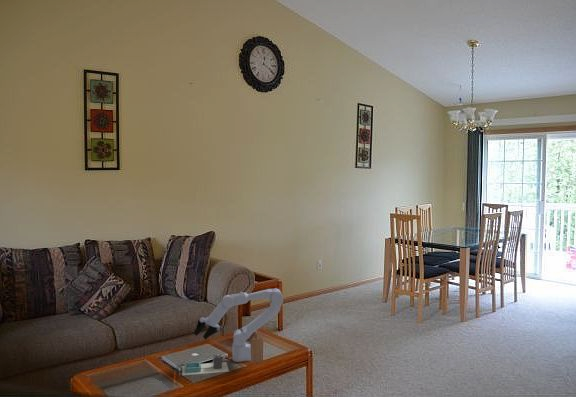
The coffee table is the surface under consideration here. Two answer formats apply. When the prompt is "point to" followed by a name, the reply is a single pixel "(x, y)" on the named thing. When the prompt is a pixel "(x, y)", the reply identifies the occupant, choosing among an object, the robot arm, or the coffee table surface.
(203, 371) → the board
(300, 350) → the coffee table surface
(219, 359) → the cable plug
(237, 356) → the robot arm
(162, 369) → the coffee table surface
